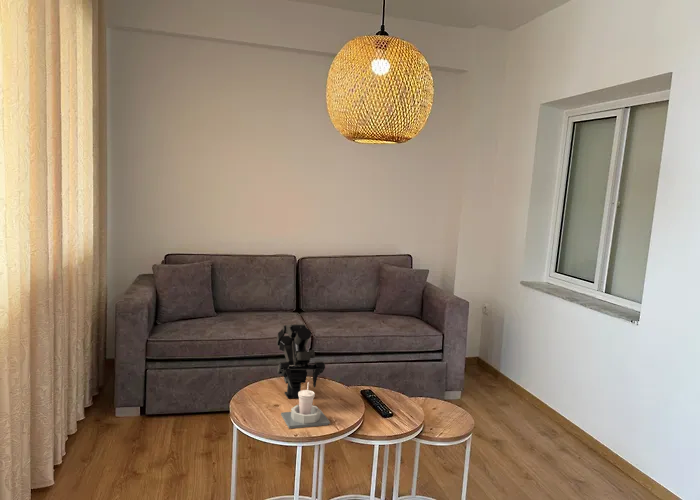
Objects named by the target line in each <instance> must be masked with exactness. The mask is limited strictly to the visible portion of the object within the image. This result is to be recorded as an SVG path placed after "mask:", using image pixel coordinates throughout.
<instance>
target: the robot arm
mask: <svg viewBox="0 0 700 500" xmlns="http://www.w3.org/2000/svg"><path fill="white" fill-rule="evenodd" d="M311 336H312V332H311V330H310V329H309V328H308V327H307V326H306V324H301V323H299V324H296V323H295V324H293V323H291V324H284V325H283V326H282V328H281V330H279V332H278V333H277V337H276V343H275V344H276V346H277V348H278V350H280V351H281V352H283V354H284V357H285V361H280V362H279V363H278V366H277V374H278V375H280V376H281V377H283V381H284V383H285V384H286V386H287V388H286V391H284V395H285V396H286V398H287V399H289V400H290V399H299V396H298V392H299V391H301V390H302V384H306V382H307V376H308V370H309V371H310V370H311V371H312V384H313V385H312V386H313V388H316V385H317V381H318V377H319V376H320V375H321V374H322V373H324V370H325V369H326V364H325V362H324V360H323V361H317V360H316V361H314V363H313V364H310V362H311V359H315V357H316V352H315V349H310V350H309V351H308V350H307V345H308V343H309V342H310V339H311Z"/></svg>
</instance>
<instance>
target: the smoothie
mask: <svg viewBox="0 0 700 500" xmlns="http://www.w3.org/2000/svg"><path fill="white" fill-rule="evenodd" d="M306 386H307V388H306V389H301V391H299V392H298V396H299V398H298V405H299V408H300V414H304V415H309V414H310V413H311V408H312V405H313V402H314V398H315V397H316V394H315V392H314V391H313V390H310V389H309V387H310V382H309V381H308V382H307V385H306Z"/></svg>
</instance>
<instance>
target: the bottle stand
mask: <svg viewBox="0 0 700 500" xmlns="http://www.w3.org/2000/svg"><path fill="white" fill-rule="evenodd" d="M290 409H291V410H290V411H285V412H283V411H282V412H280V416H281V418H282V419H283V420H284V423H285V424H286V426H287V428H288V429H300V428H308V427H309V428H310V427H311V428H312V427H322V425H323V426H329V425H328V424H330V425H331V421H330V420H329V419H328V417H327V416H326V415H325V414H324V412H323V411H322V410H321V409H320V408H319V407H318V406H317V405H313V404H312V408H311V413H310V414H309V415H304V414H300V408H299V404H296V405H295V406H292V407H291V408H290Z"/></svg>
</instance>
